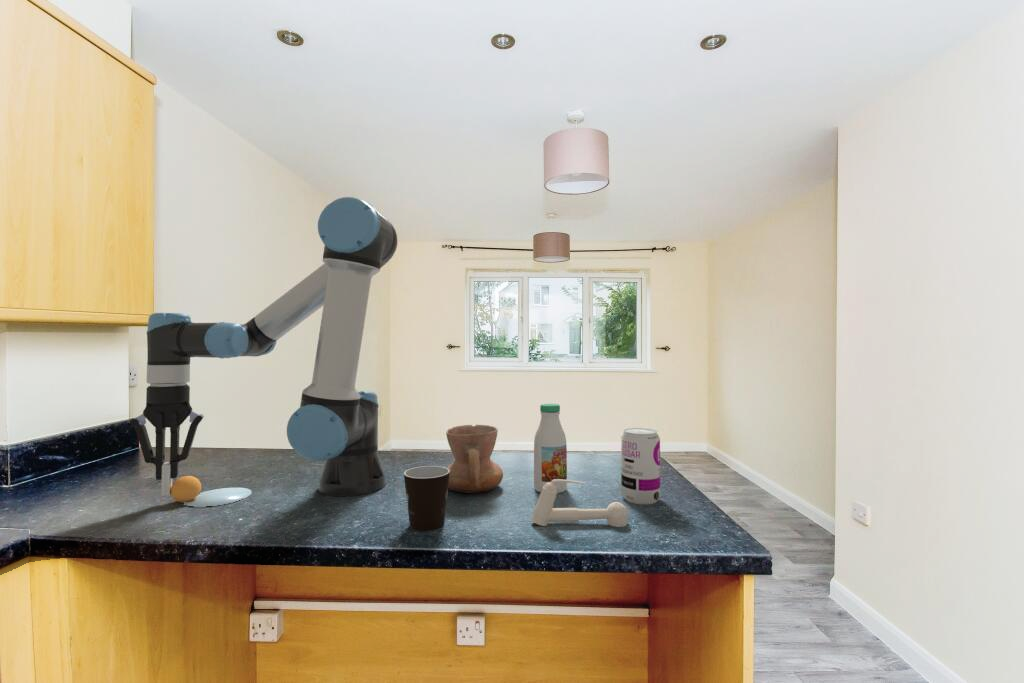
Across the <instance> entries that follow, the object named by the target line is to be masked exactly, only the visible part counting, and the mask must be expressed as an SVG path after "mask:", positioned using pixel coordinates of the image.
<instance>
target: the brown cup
mask: <svg viewBox="0 0 1024 683" xmlns="http://www.w3.org/2000/svg"><path fill="white" fill-rule="evenodd" d="M449 474H450V470H449V469H448V468H447V467H445V466H439V465H424V466H423V465H422V466H421V465H420V466H415V467H412V468H409V469H406V470H405V471H404V472H403V478H404V480H403V481H404V487H405V496H406V503H407V513H408V520H409V521H408V522H409V527H410V529H411V530H414V531H417V532H431V531H436V530H438V529H441V528H443V526H444V525H445V519H446V508H447V502H448V501H447V499H448V493H449V492H448V491H449V488H448V483H449Z"/></svg>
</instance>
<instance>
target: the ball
mask: <svg viewBox="0 0 1024 683" xmlns="http://www.w3.org/2000/svg"><path fill="white" fill-rule="evenodd" d="M201 491H202V483H201V481H200V480H199V478H197V477H195V476H193V475H185V476H181V477H179V478H178V479H176V480H175V481H174V482H172V487H171V494H170V496H171V497H172V498H173V499H174V500H175V501H177V502H179V503H183V502H187V501H191V500H193V499H194V498H196V497H197V496H198V494H199V493H201Z"/></svg>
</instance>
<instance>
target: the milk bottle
mask: <svg viewBox="0 0 1024 683" xmlns="http://www.w3.org/2000/svg"><path fill="white" fill-rule="evenodd" d="M539 407H540V408H539V409H540V415H541V416H540V422H539V425H538V427H537V429H536V431H535V434H534V440H533V487H534V490H535V491H536V492H538V493H541V491H542V488H543V486H544V485H545V484H546V483H548V482H550V483H551V481H552V480H554V479H562V480H568V476H567V475H568V460H567V458H568V455H567V454H568V451H567V437H566V433H565V431H564V429H563V427H562V424H561V420H560V413H561V412H560V411H561V406H560V404H558V403H542V404H540V406H539ZM555 485H556V487H557V494H561V493H562V494H563V493H564V492H566V490H567V488H568V482H565V483H556V484H555Z"/></svg>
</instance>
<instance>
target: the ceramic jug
mask: <svg viewBox="0 0 1024 683" xmlns="http://www.w3.org/2000/svg"><path fill="white" fill-rule="evenodd" d="M445 433H446V434H445V435H446V439H447V442H448V446H449V448H450V451H451V453H452V455H453V458H454V461H453V462H452V463H451V464H449V465H448V466H447V467H446V468H448V469H449V470H450V474H449V483H448V489H450V490H452V491H455V492H459V493H464V494H477V493H483V492H484V493H485V492H488V491H490V490H491V491H492V489H495V488H496V487H498V486H499V485H500V484H501V482H502V481H503V478H504V472H503V469H502V468H501V467H500V465H499V464H497V463H496V462H494V460H492V459H491V457H492V453H493V451H494V449H495V446H496V442H497V438H498V428H497V427H496V426H493V425H489V424H488V425H487V424H475V425H472V424H463V425H455V426H453V427H451V428H448V429H446V431H445Z"/></svg>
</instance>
